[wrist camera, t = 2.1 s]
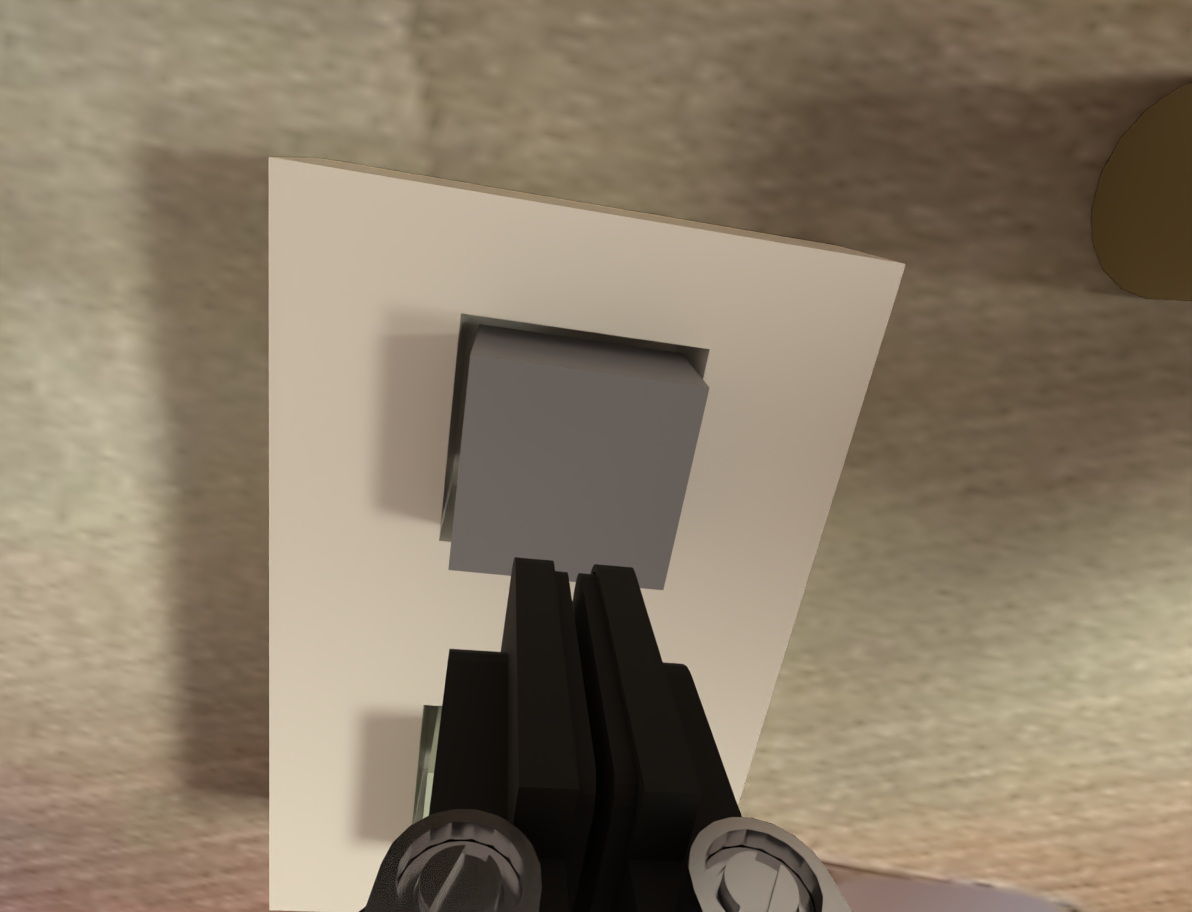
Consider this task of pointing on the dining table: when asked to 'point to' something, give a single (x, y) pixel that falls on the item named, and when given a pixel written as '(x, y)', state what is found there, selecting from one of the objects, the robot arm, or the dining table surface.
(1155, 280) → the brown pawn
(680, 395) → the charcoal key
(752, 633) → the key panel
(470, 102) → the dining table surface
